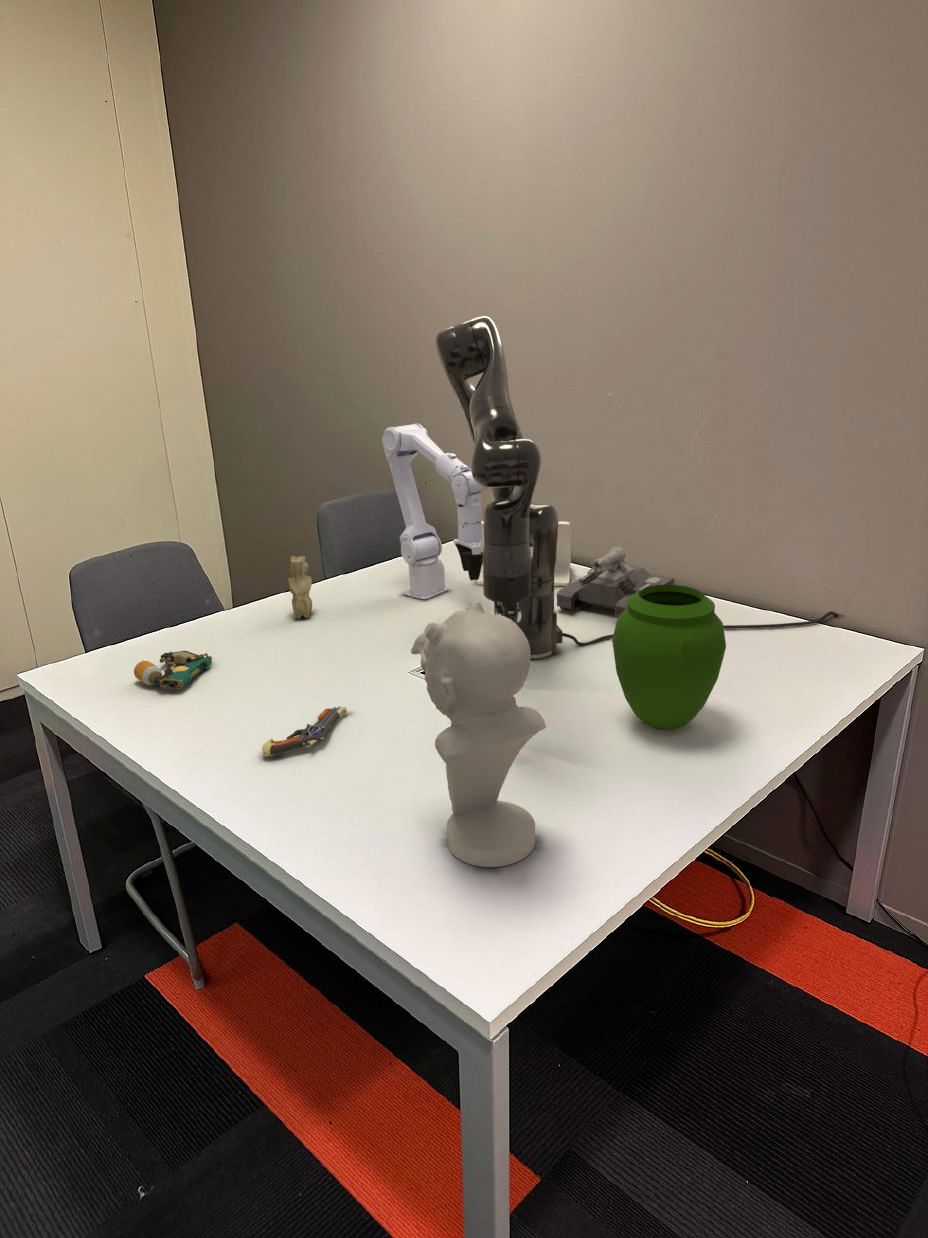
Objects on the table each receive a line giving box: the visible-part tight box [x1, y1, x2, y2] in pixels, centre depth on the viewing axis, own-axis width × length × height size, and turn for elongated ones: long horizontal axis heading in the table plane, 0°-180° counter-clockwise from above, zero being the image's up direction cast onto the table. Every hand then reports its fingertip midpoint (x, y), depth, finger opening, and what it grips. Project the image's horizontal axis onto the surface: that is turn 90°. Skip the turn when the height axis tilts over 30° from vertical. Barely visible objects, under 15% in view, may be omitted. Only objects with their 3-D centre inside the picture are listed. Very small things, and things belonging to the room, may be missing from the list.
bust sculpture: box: [410, 599, 547, 868], centre depth 121 cm, size 16×24×35 cm
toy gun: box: [261, 705, 348, 758], centre depth 154 cm, size 3×19×10 cm
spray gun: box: [133, 650, 213, 690], centre depth 180 cm, size 4×17×15 cm
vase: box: [611, 584, 727, 731], centre depth 151 cm, size 20×20×24 cm
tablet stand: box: [476, 520, 572, 587], centre depth 236 cm, size 18×25×17 cm
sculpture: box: [287, 554, 313, 619], centre depth 211 cm, size 6×7×15 cm
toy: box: [556, 546, 676, 620], centre depth 212 cm, size 25×20×15 cm
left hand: (471, 574), depth 210 cm, fingers open, 7 cm apart
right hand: (507, 666), depth 141 cm, fingers closed on brick, 4 cm apart
